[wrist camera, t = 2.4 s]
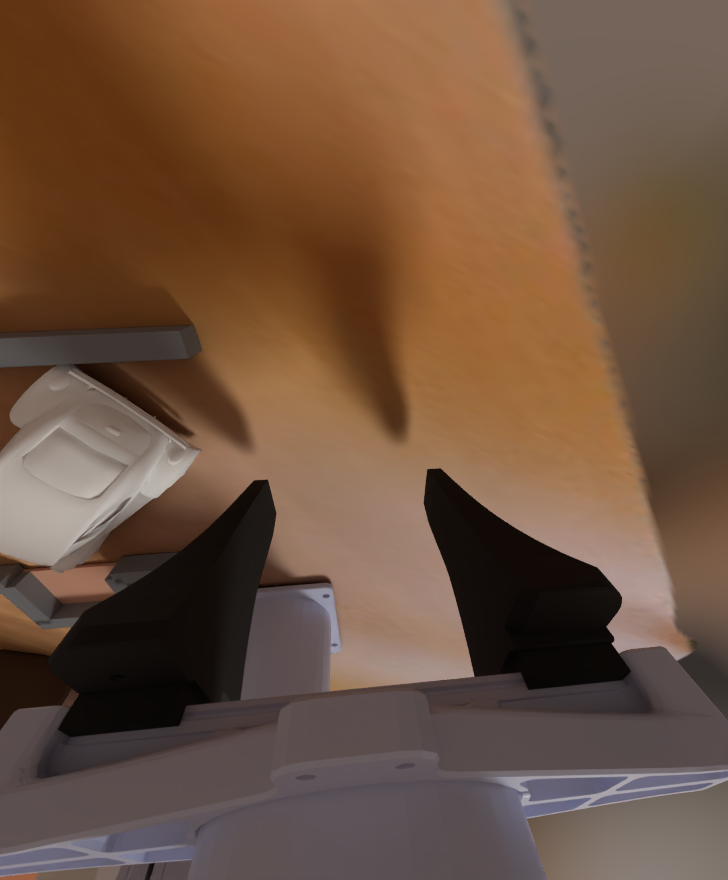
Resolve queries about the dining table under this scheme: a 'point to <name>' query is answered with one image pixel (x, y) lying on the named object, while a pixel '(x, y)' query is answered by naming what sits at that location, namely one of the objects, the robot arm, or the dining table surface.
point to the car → (79, 468)
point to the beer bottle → (27, 684)
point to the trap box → (87, 585)
